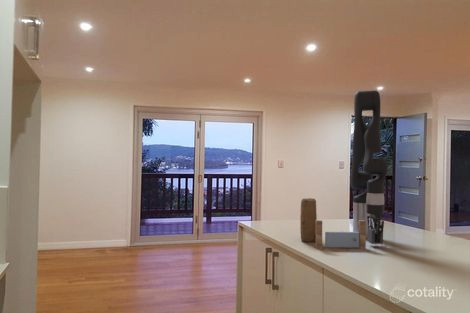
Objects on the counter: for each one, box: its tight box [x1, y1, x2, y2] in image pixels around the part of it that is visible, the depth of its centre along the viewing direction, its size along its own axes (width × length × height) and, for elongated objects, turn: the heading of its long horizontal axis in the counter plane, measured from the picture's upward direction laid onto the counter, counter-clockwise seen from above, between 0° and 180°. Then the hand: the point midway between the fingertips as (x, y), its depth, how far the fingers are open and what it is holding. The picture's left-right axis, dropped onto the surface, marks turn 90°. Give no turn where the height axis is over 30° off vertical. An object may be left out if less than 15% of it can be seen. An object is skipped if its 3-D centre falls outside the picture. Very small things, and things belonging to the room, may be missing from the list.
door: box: [324, 231, 359, 248], centre depth 168 cm, size 3×14×6 cm, turn 91°
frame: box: [315, 219, 367, 250], centre depth 169 cm, size 2×21×12 cm, turn 91°
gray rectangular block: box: [367, 228, 384, 245], centre depth 173 cm, size 5×5×6 cm
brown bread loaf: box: [299, 198, 318, 243], centre depth 186 cm, size 11×8×20 cm
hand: (375, 240), depth 173 cm, fingers closed on gray rectangular block, 5 cm apart
